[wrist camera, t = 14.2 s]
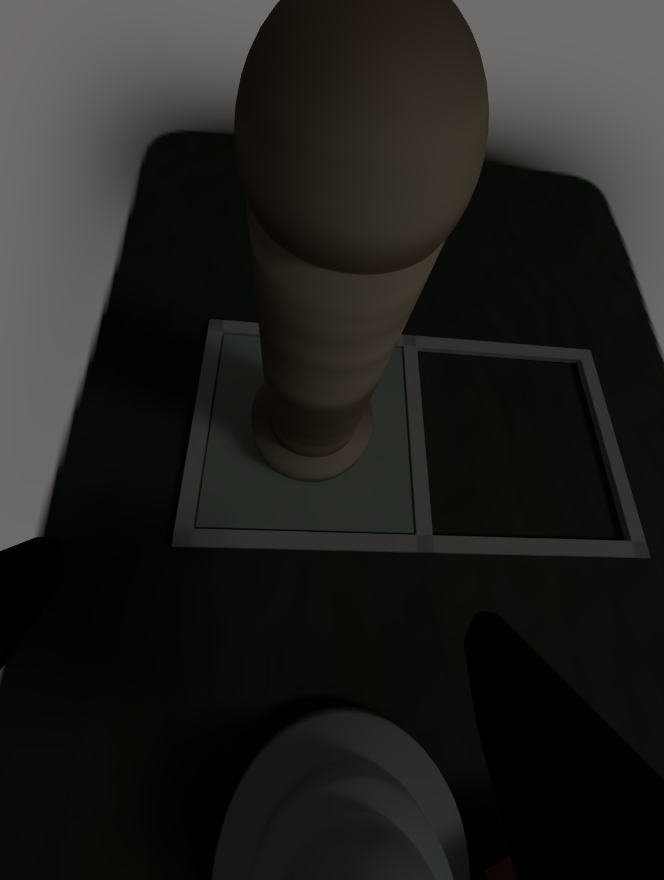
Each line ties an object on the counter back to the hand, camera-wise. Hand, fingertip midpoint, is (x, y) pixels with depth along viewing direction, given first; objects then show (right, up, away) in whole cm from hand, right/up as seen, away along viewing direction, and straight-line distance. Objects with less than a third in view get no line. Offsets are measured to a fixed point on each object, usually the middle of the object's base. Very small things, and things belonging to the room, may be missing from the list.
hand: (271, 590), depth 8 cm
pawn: (0, +4, +11) cm, 12 cm away
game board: (+6, +4, +12) cm, 14 cm away
